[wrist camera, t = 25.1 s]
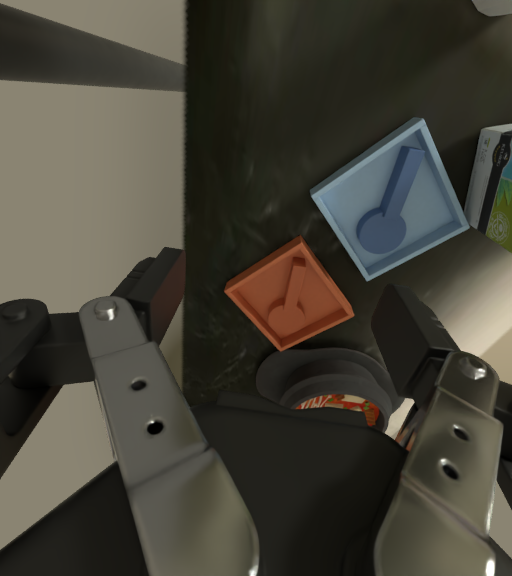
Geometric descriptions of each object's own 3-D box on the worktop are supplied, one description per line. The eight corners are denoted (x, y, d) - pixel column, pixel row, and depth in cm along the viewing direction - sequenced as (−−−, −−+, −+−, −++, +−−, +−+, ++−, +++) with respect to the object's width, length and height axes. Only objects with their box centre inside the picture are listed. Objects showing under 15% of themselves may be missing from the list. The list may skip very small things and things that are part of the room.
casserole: (244, 394, 55) (238, 438, 48) (276, 319, 45) (274, 360, 38) (369, 427, 57) (381, 473, 50) (426, 362, 47) (451, 408, 40)
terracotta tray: (226, 281, 42) (223, 291, 40) (300, 234, 38) (301, 242, 35) (280, 340, 47) (280, 352, 45) (351, 305, 43) (354, 316, 41)
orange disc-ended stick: (279, 254, 39) (278, 263, 37) (318, 260, 39) (320, 269, 37) (265, 323, 45) (265, 334, 43) (300, 328, 45) (300, 339, 43)
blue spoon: (384, 142, 31) (391, 145, 29) (433, 150, 31) (444, 154, 29) (350, 244, 37) (354, 253, 35) (391, 251, 37) (398, 259, 35)
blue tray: (309, 190, 35) (310, 196, 33) (413, 116, 30) (423, 118, 28) (362, 272, 40) (367, 281, 38) (459, 220, 35) (470, 227, 33)
